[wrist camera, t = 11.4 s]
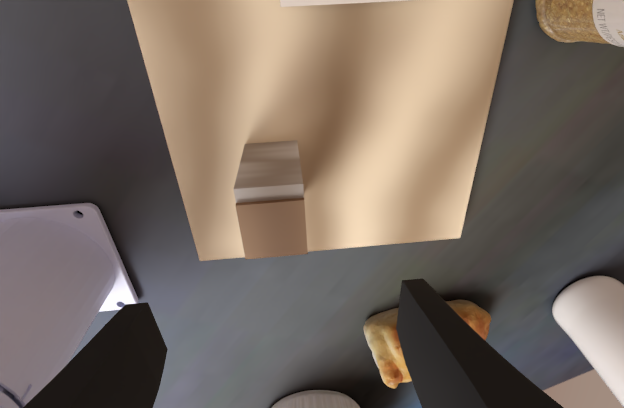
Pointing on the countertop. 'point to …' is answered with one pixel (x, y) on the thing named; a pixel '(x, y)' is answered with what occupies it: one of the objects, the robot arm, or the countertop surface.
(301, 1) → the tile
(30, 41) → the countertop surface
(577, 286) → the drinking glass
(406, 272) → the countertop surface
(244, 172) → the tan wooden block
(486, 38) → the board
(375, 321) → the pastry
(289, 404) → the ramekin
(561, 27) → the sprinkles bottle
